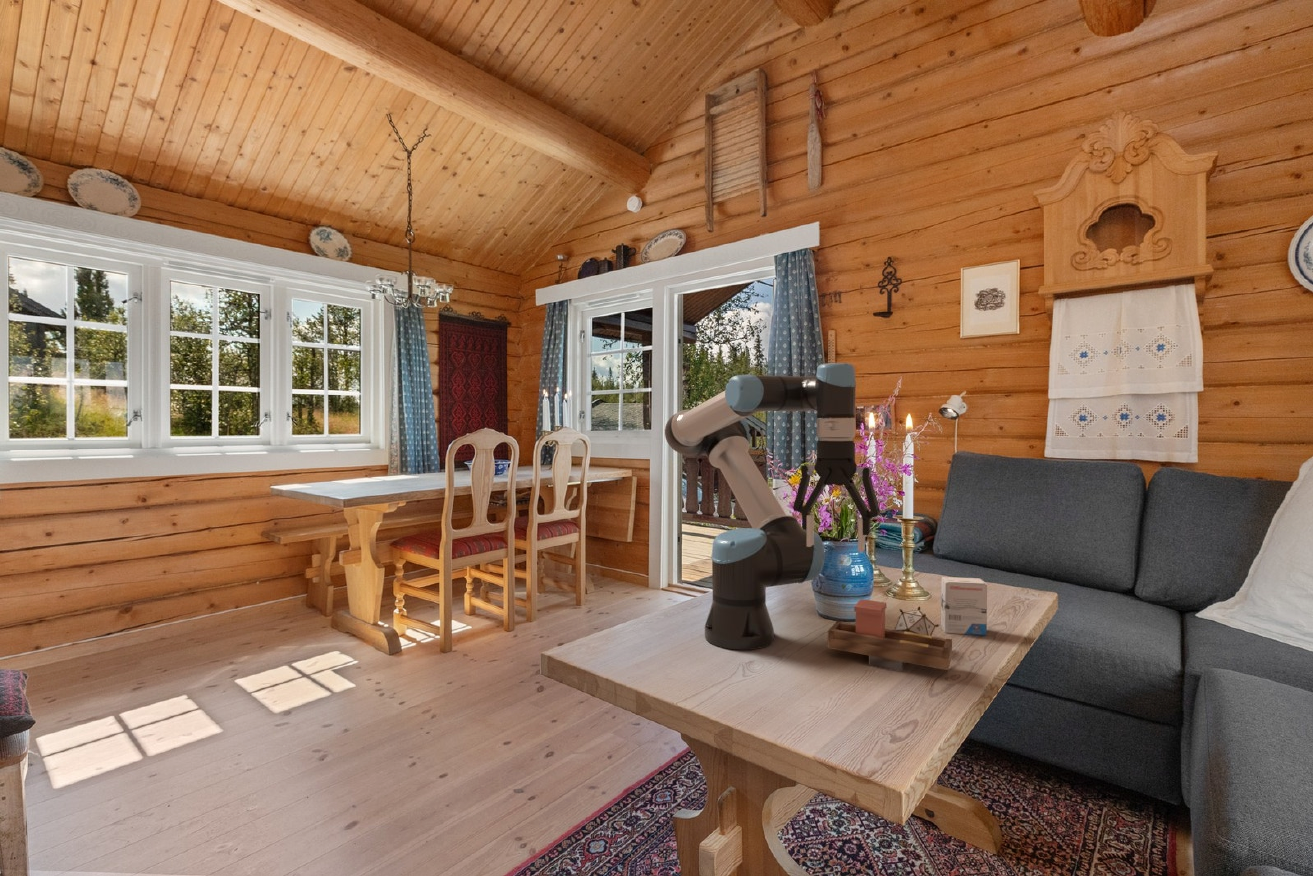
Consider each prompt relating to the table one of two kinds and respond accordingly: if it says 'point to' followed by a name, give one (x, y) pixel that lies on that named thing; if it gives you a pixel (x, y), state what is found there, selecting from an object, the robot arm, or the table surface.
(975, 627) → the ink box
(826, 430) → the robot arm
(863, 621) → the red lidded box
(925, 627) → the game die
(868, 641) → the brown long open box
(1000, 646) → the table surface
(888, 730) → the table surface
